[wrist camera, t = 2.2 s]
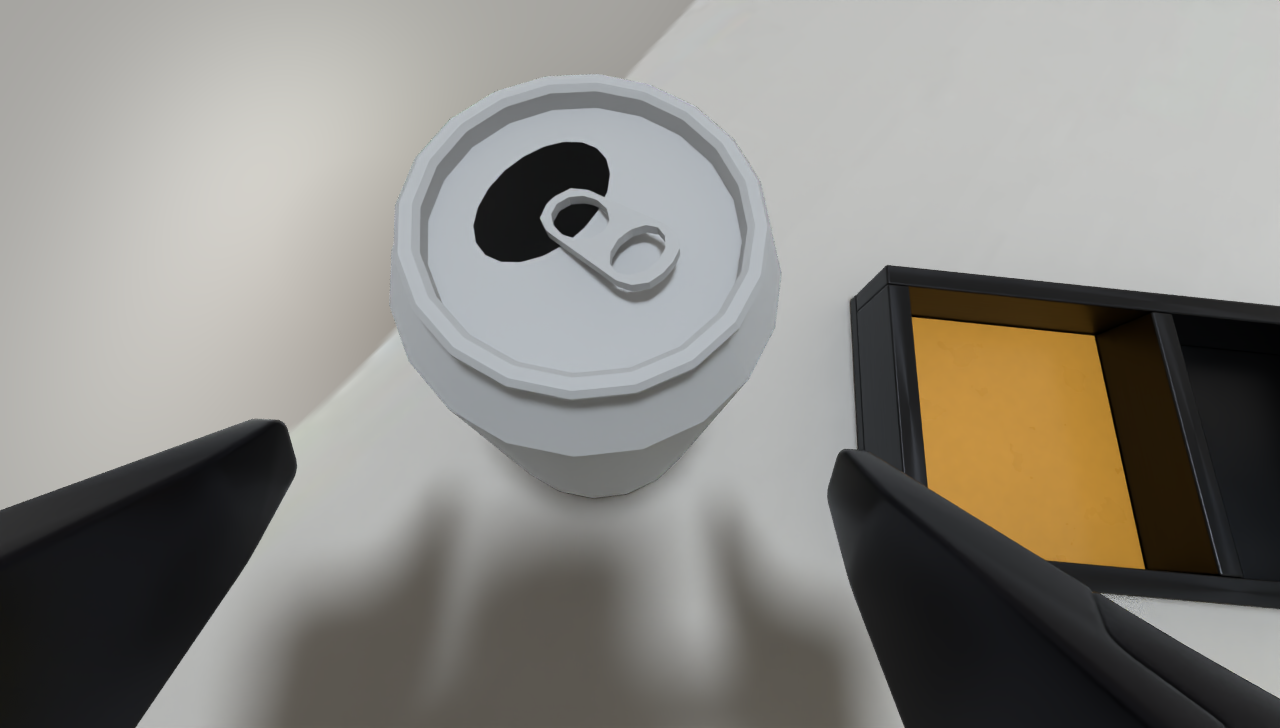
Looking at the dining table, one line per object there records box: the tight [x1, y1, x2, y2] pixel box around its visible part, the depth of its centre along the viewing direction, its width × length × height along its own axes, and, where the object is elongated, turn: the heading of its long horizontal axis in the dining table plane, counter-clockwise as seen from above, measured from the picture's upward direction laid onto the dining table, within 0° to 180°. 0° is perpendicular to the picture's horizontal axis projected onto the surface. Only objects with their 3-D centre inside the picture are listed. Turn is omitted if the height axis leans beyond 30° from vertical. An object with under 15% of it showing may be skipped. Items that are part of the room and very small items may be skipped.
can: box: [390, 74, 781, 498], centre depth 14 cm, size 8×8×12 cm
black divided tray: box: [851, 265, 1280, 609], centre depth 19 cm, size 11×20×3 cm, turn 85°
